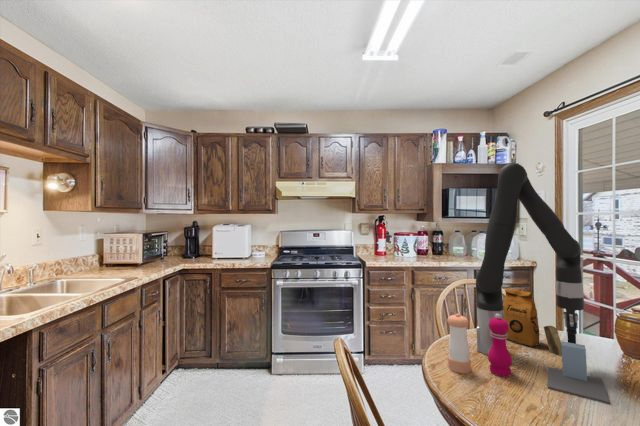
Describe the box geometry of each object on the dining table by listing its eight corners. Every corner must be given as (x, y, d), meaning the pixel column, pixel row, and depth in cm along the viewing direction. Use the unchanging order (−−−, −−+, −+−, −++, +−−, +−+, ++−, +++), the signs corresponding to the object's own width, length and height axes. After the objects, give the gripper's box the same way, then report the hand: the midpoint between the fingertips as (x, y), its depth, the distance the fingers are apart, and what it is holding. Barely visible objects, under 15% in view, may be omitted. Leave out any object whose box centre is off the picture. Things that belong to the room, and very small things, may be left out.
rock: (549, 336, 128) (532, 336, 125) (563, 324, 124) (545, 323, 121) (571, 361, 119) (552, 361, 117) (586, 348, 115) (568, 348, 112)
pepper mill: (509, 369, 105) (507, 311, 106) (515, 379, 98) (512, 317, 99) (486, 366, 108) (484, 310, 108) (490, 375, 101) (488, 315, 102)
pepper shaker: (470, 365, 108) (468, 312, 109) (471, 375, 102) (469, 318, 102) (448, 362, 111) (447, 310, 112) (447, 370, 105) (446, 315, 105)
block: (563, 375, 99) (561, 345, 99) (562, 370, 102) (561, 341, 103) (587, 381, 95) (585, 349, 96) (586, 376, 99) (584, 345, 99)
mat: (547, 388, 93) (547, 386, 93) (547, 368, 105) (547, 366, 105) (609, 404, 84) (609, 402, 84) (602, 380, 97) (602, 378, 97)
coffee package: (531, 349, 121) (529, 294, 122) (500, 339, 132) (498, 289, 133) (544, 344, 126) (542, 291, 127) (513, 335, 137) (511, 286, 138)
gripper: (555, 289, 113) (557, 336, 113) (556, 296, 103) (558, 347, 102) (581, 292, 109) (584, 340, 108) (585, 299, 98) (588, 353, 98)
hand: (571, 344), depth 105 cm, fingers closed
